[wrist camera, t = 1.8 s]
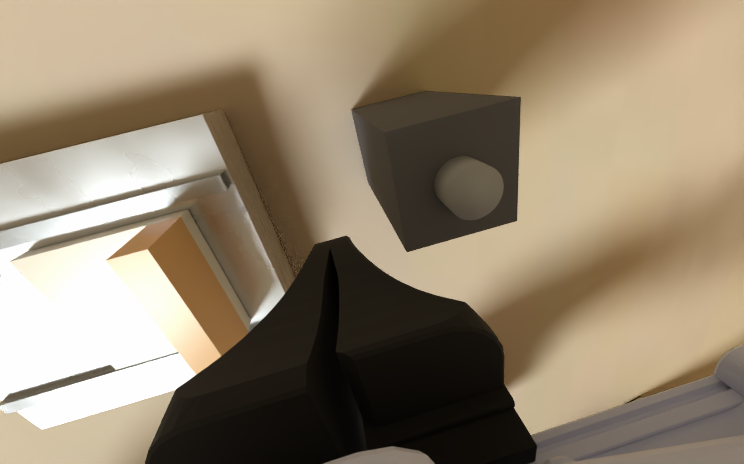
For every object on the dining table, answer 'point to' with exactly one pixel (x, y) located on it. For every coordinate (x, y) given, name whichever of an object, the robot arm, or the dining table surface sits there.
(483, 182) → the plug
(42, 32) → the dining table surface
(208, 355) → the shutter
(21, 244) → the socket
